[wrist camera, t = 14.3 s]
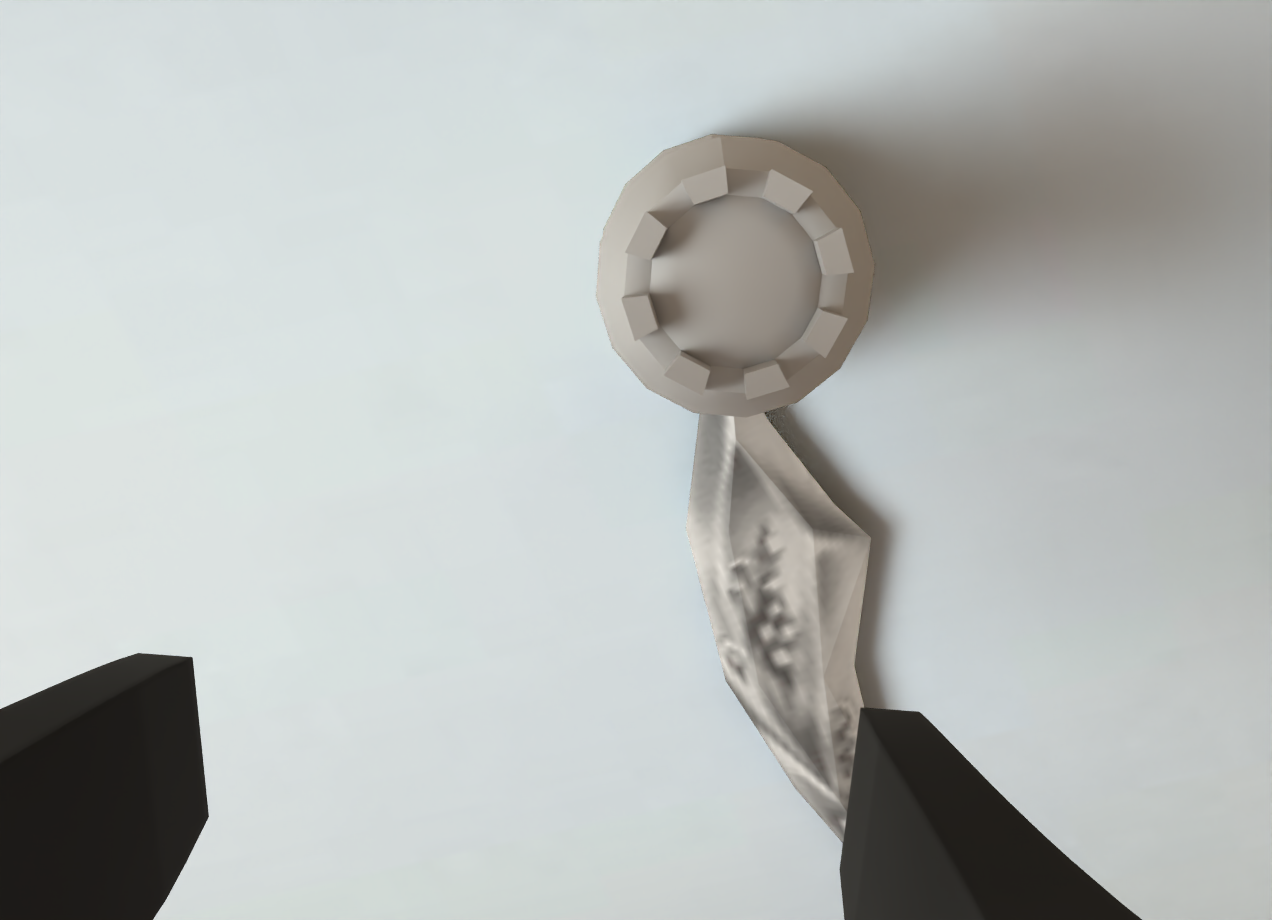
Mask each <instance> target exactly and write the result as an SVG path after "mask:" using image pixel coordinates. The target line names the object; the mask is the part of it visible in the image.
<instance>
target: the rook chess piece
mask: <svg viewBox="0 0 1272 920" xmlns="http://www.w3.org/2000/svg"><path fill="white" fill-rule="evenodd" d="M874 268H875V264H874V260H873V256H872V253H871V249H870V245H869V241H868V238H867V234H866V230H865V226H864V223H863V219H862V215H861V211H860V210H859V209H858V208H857V206H856V205H855V204H854V202H853V201H852V200H851V199H850V197H849V196H848V195H847V193H846V192H845V191H844V190H843V188H842V187H841V186H840V185H839V183H838V182H837V181H836V179H835V178H834V177H833V176H832V174H831V173H830V172H829V171H828V169H827V168H826V167H824V166H823V165H821V164H819V163H817V162H815V161H813V160H811V159H810V158H808V157H806V156H804V155H802V154H800V153H798V152H797V151H795V150H793V149H791V148H789V147H787V146H785V145H784V144H782V143H780V142H778V141H774V140H764V139H762V138H753V137H740V136H728V135H715V134H711V135H708V136H705V137H702V138H699V139H696V140H693V141H690V142H687V143H684V144H681V145H678V146H675V147H672V148H669V149H666V150H663V151H662V152H661V153H660V154H659V155H658V156H657V157H655V158H654V159H653V160H652V161H651V162H650V163H649V164H648V165H646V166H645V167H644V168H643V169H642V170H641V171H640V172H639V173H637V174H636V175H635V176H634V177H633V178H632V179H631V180H629V181H628V182H627V183H626V184H625V186H624V188H623V190H622V192H621V194H620V196H619V198H618V200H617V202H616V204H615V206H614V208H613V210H612V212H611V214H610V216H609V219H608V221H607V223H606V225H605V227H604V229H603V236H602V238H601V240H600V247H599V261H598V275H597V289H596V298H597V301H598V304H599V308H600V311H601V314H602V317H603V320H604V323H605V326H606V329H607V332H608V335H609V338H610V342H611V345H612V348H613V349H614V350H615V351H616V353H617V354H618V355H619V356H620V357H621V358H622V360H623V361H624V362H625V363H626V364H627V366H628V367H629V368H630V369H631V370H632V371H633V373H634V374H635V375H636V376H637V377H638V379H639V380H640V381H641V382H642V383H643V385H644V386H645V387H646V388H647V389H649V390H651V391H653V392H655V393H657V394H659V395H660V396H662V397H664V398H666V399H668V400H670V401H672V402H674V403H676V404H678V405H680V406H682V407H683V408H685V409H687V410H689V411H691V412H693V413H702V414H712V415H723V416H734V417H745V418H747V417H750V416H753V415H757V414H760V413H763V412H767V411H770V410H773V409H777V408H780V407H783V406H787V405H790V404H793V403H797V402H798V401H800V400H801V399H802V398H804V397H805V396H806V395H807V394H809V393H810V392H811V391H812V390H814V389H815V388H816V387H817V386H819V385H820V384H821V383H822V382H824V381H825V380H826V379H827V378H829V377H830V376H831V375H832V374H834V373H835V372H836V371H837V370H839V369H840V368H841V366H842V364H843V362H844V361H845V359H846V357H847V355H848V354H849V352H850V350H851V348H852V347H853V345H854V343H855V341H856V340H857V338H858V336H859V334H860V333H861V331H862V329H863V327H864V326H865V324H866V322H867V320H868V313H869V305H870V298H871V290H872V283H873V276H874Z"/></svg>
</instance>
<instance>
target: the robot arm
mask: <svg viewBox="0 0 1272 920" xmlns="http://www.w3.org/2000/svg"><path fill="white" fill-rule="evenodd" d="M208 817H209V815H208V805H207V795H206V785H205V775H204V766H203V756H202V746H201V736H200V726H199V717H198V707H197V697H196V687H195V677H194V668H193V658H192V657H182V656H169V655H156V654H142V653H137V654H134V655H131V656H128V657H125V658H122V659H119V660H116V661H113V662H110V663H108V664H105V665H102V666H100V667H97V668H95V669H92V670H90V671H87V672H85V673H83V674H80V675H78V676H75V677H73V678H71V679H68V680H66V681H64V682H61V683H59V684H57V685H54V686H52V687H50V688H47V689H45V690H43V691H41V692H38V693H36V694H34V695H31V696H29V697H27V698H25V699H22V700H20V701H18V702H15V703H13V704H11V705H9V706H6V707H4V708H2V709H0V920H153V918H154V917H155V915H156V914H157V912H158V911H159V909H160V908H161V906H162V905H163V904H164V902H165V900H166V899H167V897H168V895H169V893H170V891H171V889H172V887H173V886H174V884H175V882H176V880H177V878H178V876H179V875H180V873H181V871H182V869H183V867H184V865H185V863H186V862H187V859H188V857H189V855H190V853H191V851H192V849H193V847H194V845H195V843H196V841H197V839H198V837H199V835H200V833H201V831H202V829H203V827H204V825H205V823H206V821H207V819H208ZM840 877H841V888H842V898H843V908H844V919H845V920H1142V919H1140V918H1139V917H1138V916H1137V915H1135V914H1134V913H1133V912H1132V911H1130V910H1129V909H1128V908H1127V907H1125V906H1124V905H1123V904H1122V903H1120V902H1119V901H1118V900H1117V899H1116V898H1115V897H1113V896H1112V895H1111V894H1110V893H1109V892H1108V891H1106V890H1105V889H1104V888H1103V887H1102V886H1101V885H1099V884H1098V883H1097V882H1096V881H1095V880H1094V879H1092V878H1091V877H1090V876H1089V875H1088V874H1087V873H1085V872H1084V871H1083V870H1082V869H1081V868H1080V867H1078V866H1077V865H1076V864H1075V863H1074V862H1073V861H1071V860H1070V859H1069V858H1068V857H1067V856H1066V855H1065V854H1064V853H1063V852H1062V851H1060V850H1059V849H1058V848H1057V847H1056V846H1055V845H1054V844H1053V843H1052V842H1051V841H1049V840H1048V839H1047V838H1046V837H1045V836H1044V835H1043V834H1042V833H1041V832H1040V831H1039V830H1038V829H1037V828H1035V827H1034V826H1033V825H1032V824H1031V823H1030V822H1029V821H1028V820H1027V819H1026V818H1025V817H1024V816H1023V815H1022V814H1021V813H1020V812H1019V811H1018V810H1017V809H1016V808H1015V807H1014V806H1013V805H1012V804H1010V803H1009V802H1008V801H1007V800H1006V799H1005V798H1004V797H1003V796H1002V795H1001V794H1000V793H999V792H998V791H997V790H996V789H995V788H994V787H993V786H992V785H991V784H990V783H989V782H988V781H987V780H986V779H985V778H984V777H983V776H982V775H981V774H980V773H979V771H978V770H977V769H976V768H975V767H974V766H973V765H972V764H971V763H970V762H969V761H968V760H967V759H966V758H965V757H964V756H963V755H962V754H961V753H960V752H959V751H958V750H957V749H956V748H955V747H954V746H953V745H952V744H951V743H950V742H949V741H948V740H947V739H946V738H945V737H944V736H943V735H942V733H941V732H940V731H939V730H938V729H937V728H936V727H935V726H934V725H933V724H932V723H931V722H930V721H929V720H928V719H927V718H925V717H924V716H923V715H922V714H921V713H920V712H914V711H901V710H888V709H874V708H860V716H859V723H858V731H857V739H856V747H855V755H854V762H853V770H852V778H851V786H850V794H849V801H848V809H847V817H846V825H845V832H844V840H843V848H842V856H841V864H840Z"/></svg>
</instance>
